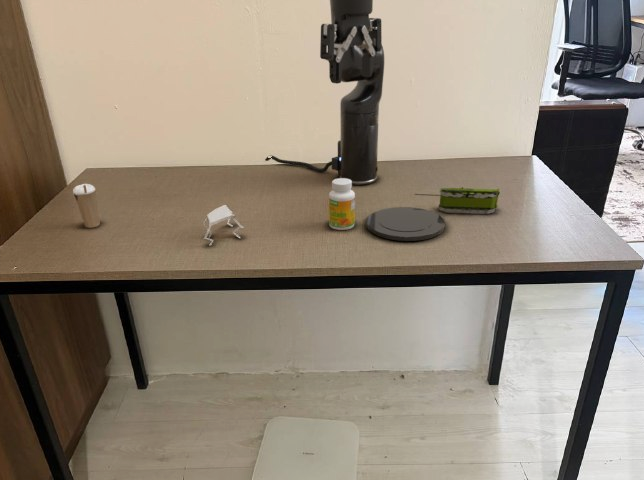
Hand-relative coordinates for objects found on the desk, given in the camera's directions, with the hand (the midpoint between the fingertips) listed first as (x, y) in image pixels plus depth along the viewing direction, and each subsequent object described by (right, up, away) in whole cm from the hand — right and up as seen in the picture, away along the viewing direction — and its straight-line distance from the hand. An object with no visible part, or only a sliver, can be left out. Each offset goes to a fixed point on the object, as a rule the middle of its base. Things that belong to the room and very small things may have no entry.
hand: (351, 79), depth 112 cm
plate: (+12, -28, +7) cm, 31 cm away
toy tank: (+24, -23, +15) cm, 36 cm away
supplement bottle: (-1, -28, +9) cm, 29 cm away
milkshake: (-56, -27, +14) cm, 64 cm away
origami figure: (-26, -30, +7) cm, 40 cm away
